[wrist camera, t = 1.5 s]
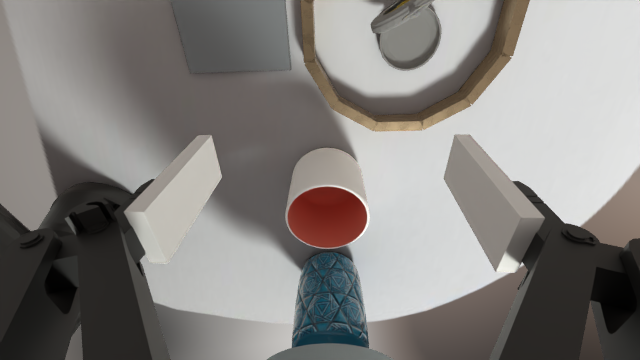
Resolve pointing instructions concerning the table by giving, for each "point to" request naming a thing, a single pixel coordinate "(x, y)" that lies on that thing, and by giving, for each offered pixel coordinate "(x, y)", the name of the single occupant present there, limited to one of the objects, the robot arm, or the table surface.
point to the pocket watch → (408, 33)
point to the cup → (327, 200)
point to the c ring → (468, 93)
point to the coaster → (233, 35)
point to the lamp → (329, 313)
